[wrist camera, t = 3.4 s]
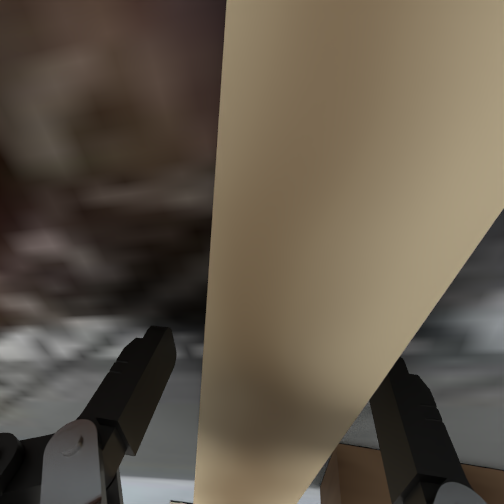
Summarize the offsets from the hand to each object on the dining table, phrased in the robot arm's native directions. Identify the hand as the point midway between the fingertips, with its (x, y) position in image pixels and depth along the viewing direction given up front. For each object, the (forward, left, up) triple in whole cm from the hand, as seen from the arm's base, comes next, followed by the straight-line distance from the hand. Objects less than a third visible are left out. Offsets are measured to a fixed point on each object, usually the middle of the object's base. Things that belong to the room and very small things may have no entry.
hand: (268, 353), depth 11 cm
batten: (0, 0, -2) cm, 2 cm away
